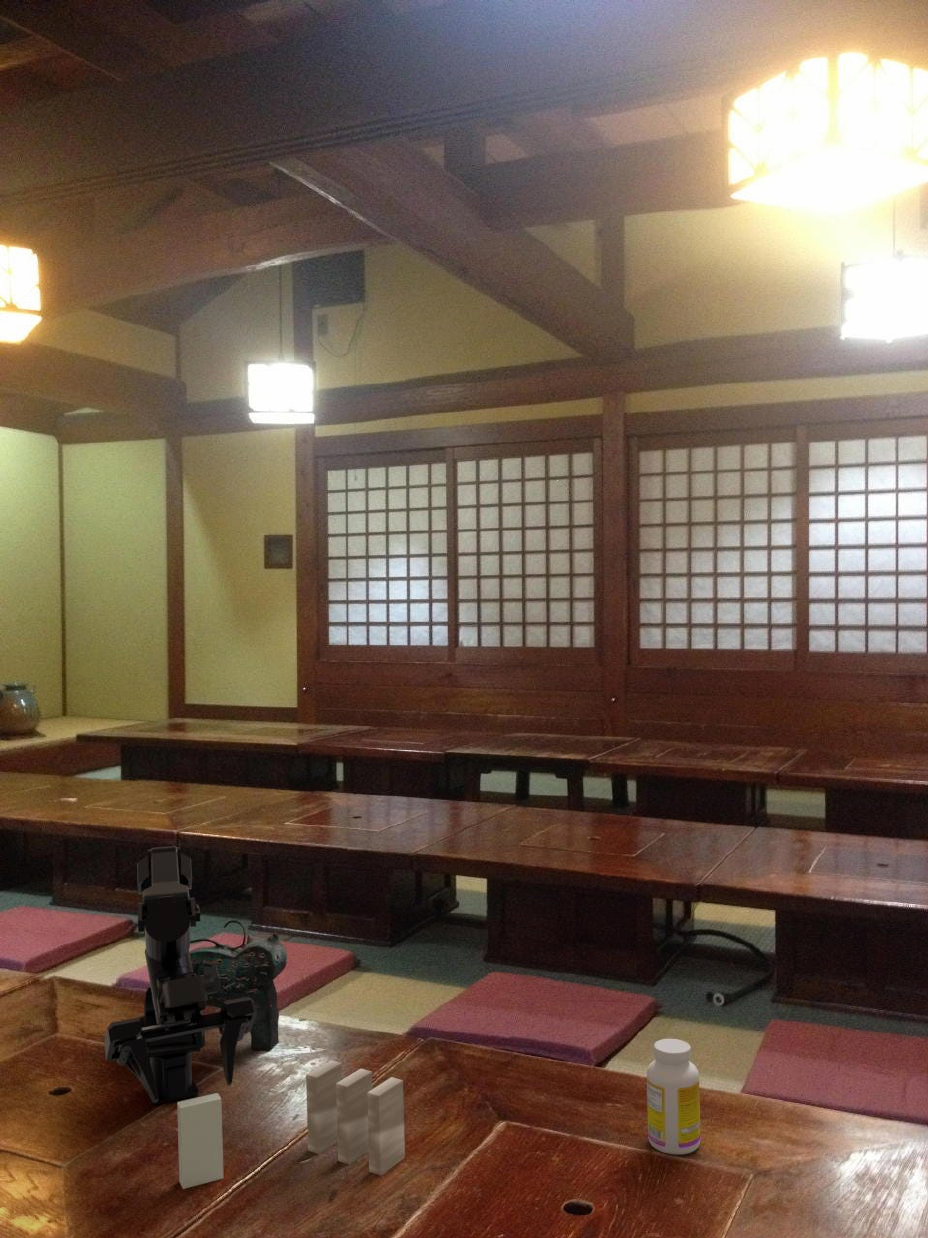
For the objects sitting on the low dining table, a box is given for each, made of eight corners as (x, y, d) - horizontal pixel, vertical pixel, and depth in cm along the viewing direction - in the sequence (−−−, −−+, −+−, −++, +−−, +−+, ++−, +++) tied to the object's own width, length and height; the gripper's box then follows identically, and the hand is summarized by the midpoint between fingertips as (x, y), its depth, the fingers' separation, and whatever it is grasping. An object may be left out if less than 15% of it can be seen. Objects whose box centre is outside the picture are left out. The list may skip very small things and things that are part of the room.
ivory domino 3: (369, 1172, 139) (367, 1092, 138) (393, 1154, 143) (391, 1077, 143) (380, 1176, 138) (378, 1096, 137) (404, 1158, 142) (403, 1080, 142)
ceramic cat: (291, 1041, 179) (288, 917, 178) (275, 1058, 173) (272, 930, 172) (177, 1031, 184) (174, 911, 183) (158, 1048, 177) (154, 923, 176)
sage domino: (179, 1182, 137) (177, 1102, 137) (219, 1171, 140) (217, 1093, 139) (182, 1189, 136) (180, 1108, 135) (223, 1178, 138) (221, 1099, 138)
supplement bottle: (703, 1135, 146) (702, 1038, 146) (697, 1160, 140) (695, 1059, 139) (652, 1128, 148) (651, 1032, 148) (643, 1152, 142) (642, 1053, 142)
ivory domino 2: (338, 1161, 142) (336, 1083, 141) (362, 1144, 146) (360, 1068, 145) (349, 1165, 141) (347, 1086, 140) (373, 1147, 145) (371, 1071, 144)
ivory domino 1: (308, 1150, 144) (306, 1074, 144) (333, 1134, 148) (331, 1060, 148) (318, 1154, 143) (316, 1077, 143) (343, 1137, 147) (341, 1063, 147)
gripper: (105, 960, 140) (123, 1081, 130) (251, 936, 148) (278, 1048, 138) (97, 1002, 147) (114, 1120, 137) (236, 977, 155) (261, 1086, 146)
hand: (193, 1092), depth 140 cm, fingers open, 9 cm apart
